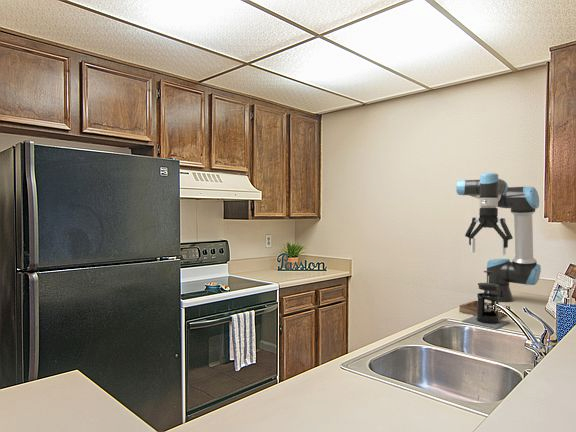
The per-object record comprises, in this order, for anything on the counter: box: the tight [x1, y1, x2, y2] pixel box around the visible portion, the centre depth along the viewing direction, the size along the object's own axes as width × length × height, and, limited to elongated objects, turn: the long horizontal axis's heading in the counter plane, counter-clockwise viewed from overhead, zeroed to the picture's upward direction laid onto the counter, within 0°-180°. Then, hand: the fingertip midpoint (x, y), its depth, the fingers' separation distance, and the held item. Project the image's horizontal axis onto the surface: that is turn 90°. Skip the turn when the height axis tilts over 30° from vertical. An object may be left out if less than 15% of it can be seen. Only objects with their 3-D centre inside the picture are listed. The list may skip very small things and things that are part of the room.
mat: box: [461, 315, 511, 330], centre depth 189 cm, size 15×15×1 cm
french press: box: [476, 270, 500, 324], centre depth 188 cm, size 12×9×23 cm
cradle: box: [459, 300, 511, 319], centre depth 206 cm, size 17×17×4 cm
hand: (487, 253), depth 188 cm, fingers open, 13 cm apart
